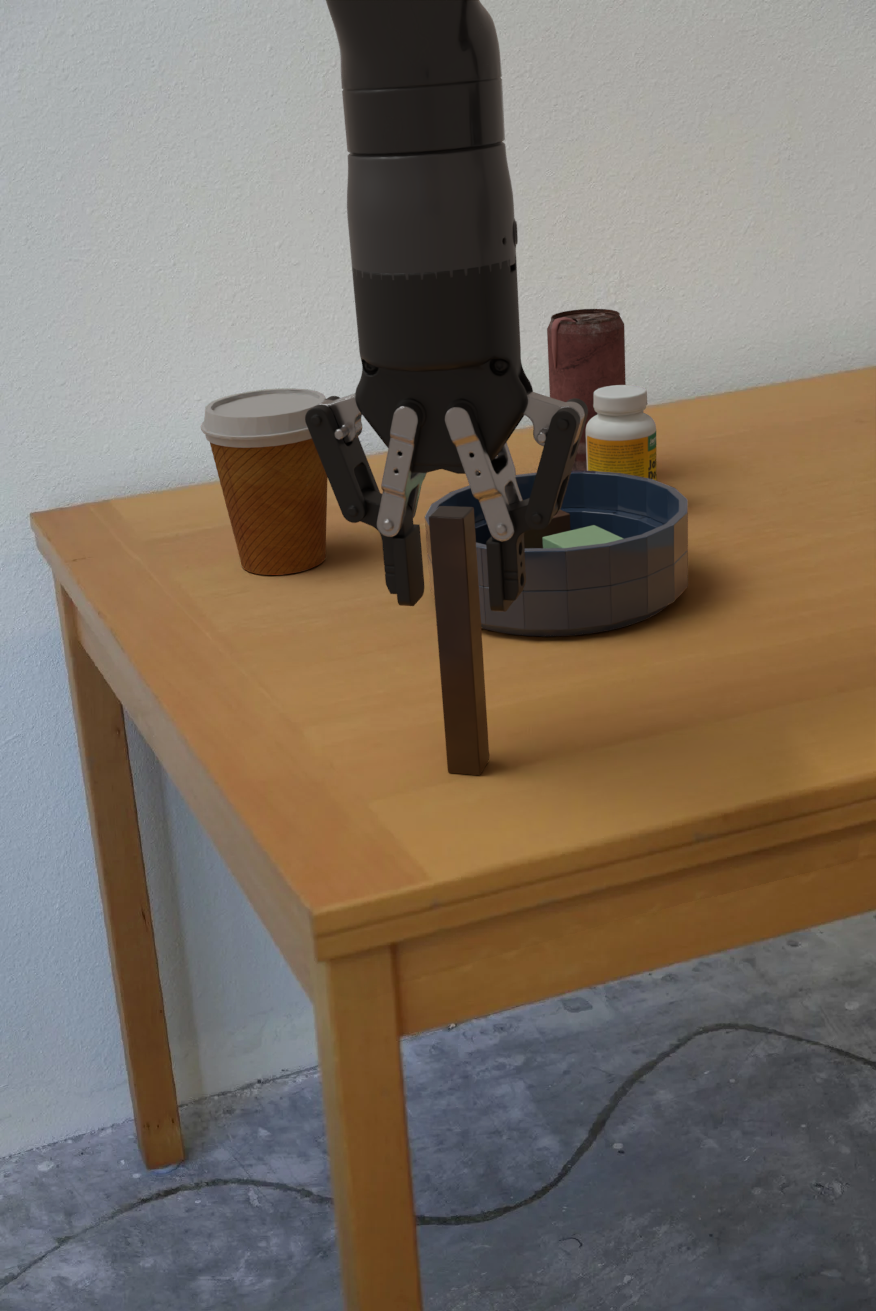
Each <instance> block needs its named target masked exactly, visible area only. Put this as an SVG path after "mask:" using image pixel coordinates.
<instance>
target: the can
mask: <svg viewBox="0 0 876 1311" xmlns="http://www.w3.org/2000/svg"><path fill="white" fill-rule="evenodd" d="M625 332H626V331H625V323H624V321H623V318H621V314H620V312H619V311H618V310H613V309H608V308H607V309H606V308H580V309H572V310H566V311H560V312H557V313H555V314H552V315H551V317H550V321H549V324H548V326H547V328H546V337H547V338H546V340H547V363H548V387H549V397H551V398H554V399H557V400H560V401H563V402H567V401H568V400H570V399H573V398H577V399H580V400H582V401H583V402H584V403H585V404H586V405H587V408H588V415H587V419H586V422H585V426H584V429H583V433H582V436H581V440H580V443H579V447H578V450H577V454H576V457H575V461H574V464H573V468H572V471H587V460H586V425H587V423H588V421H589V420H590V419H591V418H592V417H594V416H595V415H597V412H596V411H595V410H594V407H593V404H594V391H595V390H597V389H599V388H602V387H607V386H613V385H627V382H626V379H627V378H626V341H625V340H626V335H625Z"/></svg>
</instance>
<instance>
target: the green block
mask: <svg viewBox="0 0 876 1311" xmlns="http://www.w3.org/2000/svg"><path fill="white" fill-rule="evenodd" d="M542 539H543V548H570V547H578V546H587V545H595V544H603V543H608V542H613V541H617V540H621V539H623V538H621V537H619V536H617V535H615V534H612V533H610V532H608V531H606V530H604V529H602V528H599V527H597V526H595V525H592V526H588V527H584V528H579V529H575V530H571V531H567V532H562V533H558V534H554V535H550V536H545V537H543V538H542Z"/></svg>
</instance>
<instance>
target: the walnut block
mask: <svg viewBox="0 0 876 1311" xmlns="http://www.w3.org/2000/svg"><path fill="white" fill-rule="evenodd" d="M567 531H570V514H569V513H567V512H565V511H562V510H559V512H558V513H557V514H556V515H555V516H553V518H552V519H551V522H550V523H549V524H548V526H547V527H546V528H544V529H542V530H534V529H533V530H530V531H527V532H524V549H529V548H543V539H542V538H543V537H545V536H550V535H554V534H558V533H562V532H567Z"/></svg>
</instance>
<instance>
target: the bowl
mask: <svg viewBox="0 0 876 1311" xmlns="http://www.w3.org/2000/svg"><path fill="white" fill-rule="evenodd" d="M536 473H537V472H529V473H519V474H516V482H517V485H518V488H519V491H520V494H521V497H522V500H526V499H529V498H530V495H531V491H532V488H533V484H534V480H535V477H536ZM439 506H456V507H473V508H474V520H475V536H476V552H477V568H478V584H479V600H480V616H481V629H482V630H486V631H491V632H495V633H501V634H505V635H506V634H507V635H512V636H513V635H514V636H526V637H545V638H547V637H569V636H571V637H572V636H582V635H590V634H591V635H592V634H598V633H603V632H608V631H613V630H617V629H623V628H626V627H628V626H633V625H636V624H638V623H641V622H643V621H645V620H647V619H650V618H651V617H653V616H656V615H658V614H659V613H660V612H662V611H664V610H665V609H666V608H667V607H668V606H669V605H671V604H673V603H674V602H675V601H676V600H677V599H678V598H679V597H680V596H681V595H682V594H683V593H684V592H685V591H686V590H687V588H688V587H689V499H688V498H687V497H686V496H685V495H683V493H681V492H680V491H679V490H678V489H677V488H676V487H675V486H674V487H673V486H671V485H669V484H666V483H664V482H661V481H658V480H657V481H656V480H653V479H649V478H644V477H639V476H634V475H628V474H623V473H613V472H599V471H571V475H570V478H569V482H568V485H567V489H566V492H565V496H564V499H563V503H562V506H561V509H560V510H562V511H565V512H567V513H569V514H570V531H571V530H575V529H579V528H584V527H588V526H592V525H595V526H597V527H599V528H602V529H604V530H606V531H608V532H610V533H612V534H615V535H617V536H619V537H621V538H623V539H621V540H617V541H613V542H608V543H603V544H595V545H587V546H578V547H570V548H529V549H525V571H526V583H525V586H524V588H523V591H522V592H521V593H520V595H519V596H518V598H517V599H516V600H515V601H513V603H512V604H511V605H510V607H509V608H508V609H507V611H506V612H504V611H491V609H490V600H489V583H488V566H487V550H486V542H487V541H488V539H489V538H490V537H491V536H492V535H491V533H490V531H489V528H488V525H487V522H486V519H485V516H484V513H483V511H482V508H481V505H480V502H479V500H478V499H476V498H475V497H474V496H473V494H472V491H471V488H470V485H469V484H468V485H466V486H464V487H460V488H458V489H455V490H453V491H450V492H448V493H446V494H445V495H443V496H441V497H440V498H438V499H437V500H435V501H434V502H432V503H431V504H430V506H429V508H428V510H427V511H426V513H425V515H424V526H425V528H424V529H425V541H426V554H427V566H428V580H429V590H430V592H431V594H432V597H433V598H434V599H433V600H435V595H434V582H433V569H432V556H431V542H430V529H429V516H430V515H431V514H432V513H433V512H434V511H435V510H436V509H437V508H438V507H439Z"/></svg>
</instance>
